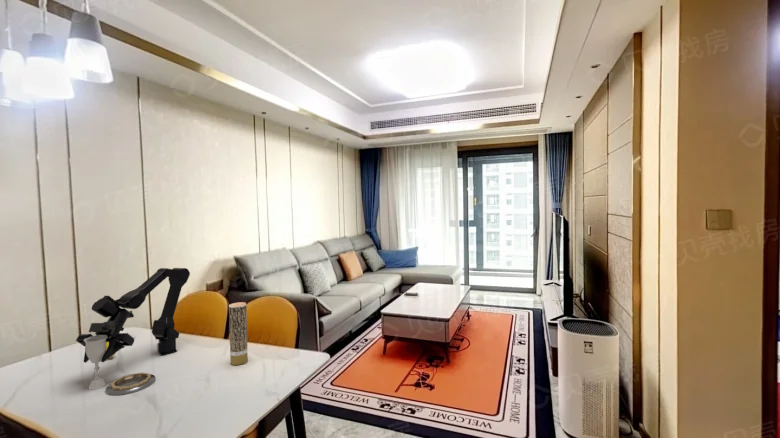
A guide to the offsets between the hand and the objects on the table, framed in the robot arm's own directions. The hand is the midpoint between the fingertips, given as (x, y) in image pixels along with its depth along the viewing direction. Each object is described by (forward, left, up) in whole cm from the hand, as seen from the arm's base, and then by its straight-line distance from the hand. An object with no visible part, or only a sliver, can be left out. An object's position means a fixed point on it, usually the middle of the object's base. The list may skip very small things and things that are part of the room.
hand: (93, 362), depth 130 cm
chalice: (-1, -1, -10) cm, 10 cm away
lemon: (-8, -30, -10) cm, 33 cm away
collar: (-10, +8, -10) cm, 16 cm away
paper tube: (-46, +18, -10) cm, 50 cm away
